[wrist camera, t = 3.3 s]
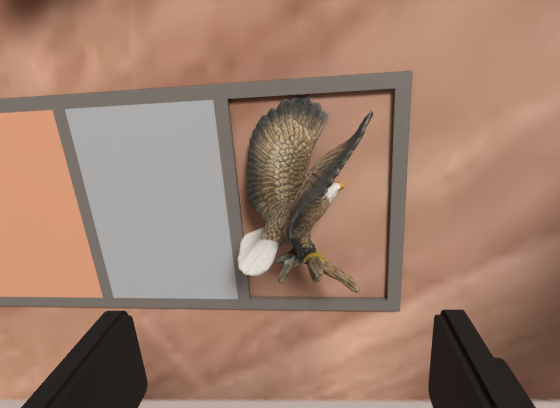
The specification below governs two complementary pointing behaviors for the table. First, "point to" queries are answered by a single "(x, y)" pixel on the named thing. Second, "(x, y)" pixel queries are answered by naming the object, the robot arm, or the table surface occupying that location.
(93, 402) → the robot arm
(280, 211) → the eagle figurine
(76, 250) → the board
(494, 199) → the table surface
